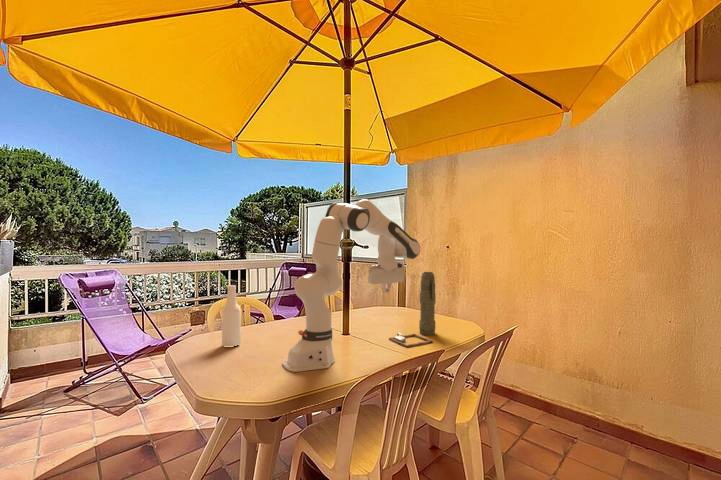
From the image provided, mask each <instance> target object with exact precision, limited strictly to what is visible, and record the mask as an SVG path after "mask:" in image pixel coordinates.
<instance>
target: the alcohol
mask: <svg viewBox="0 0 721 480" xmlns="http://www.w3.org/2000/svg"><path fill="white" fill-rule="evenodd" d="M236 287H237V285H235V284H230V285H227V296H226V303H225V305H224V306H223V307H222V311H221V346H222V345H223V346H237V345H239V344H240V345H241V343H242V309H241V306H240V305H239V304H238V300H237V292H236V291H237V288H236ZM240 345H239V346H240ZM223 346H222V347H223Z"/></svg>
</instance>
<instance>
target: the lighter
mask: <svg viewBox="0 0 721 480" xmlns="http://www.w3.org/2000/svg"><path fill="white" fill-rule="evenodd" d="M402 336H403V334H402V333H401V332H396V336H394V337H395V338H394V339H395V340H397V341H399V342H402V343H405V342H406V340H407V338H405V337H402Z"/></svg>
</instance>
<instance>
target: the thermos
mask: <svg viewBox="0 0 721 480" xmlns="http://www.w3.org/2000/svg"><path fill="white" fill-rule="evenodd" d="M435 280H436V277H435V274H434V273H433V272H432V271H424V272H422V274H421V277H420V293H419V303H420V319H419V325H418V327H419V334H420V335H422V336H430V335H431V336H434V334H436V320H435V313H436V311H435V310H436V309H435V306H436V305H435V304H436V297H437V295H436V281H435Z"/></svg>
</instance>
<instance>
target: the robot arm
mask: <svg viewBox="0 0 721 480" xmlns="http://www.w3.org/2000/svg"><path fill="white" fill-rule="evenodd" d="M324 216H325V217H323V218H322V219H321V220H320V222H319V224H318V227H317V229H316V234H315V236H314V243H313V248H312V253H311V258H312V261H314V264H315V267H316V269H315V272H313V273H307V274H304V275H302V276H300V277H298V278H297V279H296V280H295V282H294V292H295V295H296V296H297V298H299V300H301V301H302V303H303V306H304V309H305V329H304V331H303V330H302V329H298V331H297V333H298V335H299V336H301V338H300V339H299V340H298V341H297V342H296V343H295V344H294V345H292V346H291V347H290V348H289V350H288V353H287V354H288V355H287V358H284V359H283V360H282V366H283V368H284V369H286V370H287V371H289V372H292V373H296V372H305V371H306V372H307V371H313V370H322V369H329V368H330V367H331V365H333V364H334V363H335V361H336V360H335V356H334V352H333V343H332V341H333V328H332V310H331V309H330V307H328V306H327V303H326V300H325V297H329V296H333V295H335V294H336V293H338V292H339V291H340V289H341V288H342V284H343V281H342V278H341V276H340V274H339V271H338V257H339V252H340V246H341V240H342V234H343V233H344V230H348V231H349V230H350V231H352V232H361V231H364V230H365V231H366V232H368V233H370V234H371V235H373V236H378V239H377V252H378V256H377V264H376V265H375V264H373V265H371V266H369V267H368V276H367V277H368V278H367V283H368V284H370V285H380V286H381V288H382V292H383V293H390V291H391V288H392V286H393V284H395V283H396V284H397V283H404V281H405V270H404V268H405V267H404V263H401V262H399V261H396V258H400V259H402V258H403V259H411V260H414V259H416V258H417V257H418V256H419V255H420V253H421V244H420V243H419V241H418V240H417V239H416V238H414V237H411V236H410V234H408V233H407V232H406V231H405V230H404V229H403V228H402V227H401V226H400V225H399V224H397V223H396V222H395V221H392V220H391V219H389V218H388V217H387V216H386V215H385V214H383V213H382V211H381V210H380V209H379V208H378V207H377V206H376V205H375V204H374V203H373V202H372V201H370V200H369V199H366V198H363V199H360V200H358V201H357V202H356V203H355V204H354V205H353V204H351V203H347V202H346V203H345V202H341V201H336V202H332V203H330V205H329V206H328V208H327V210H326V213H325V215H324ZM386 285H387V287H386Z"/></svg>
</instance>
